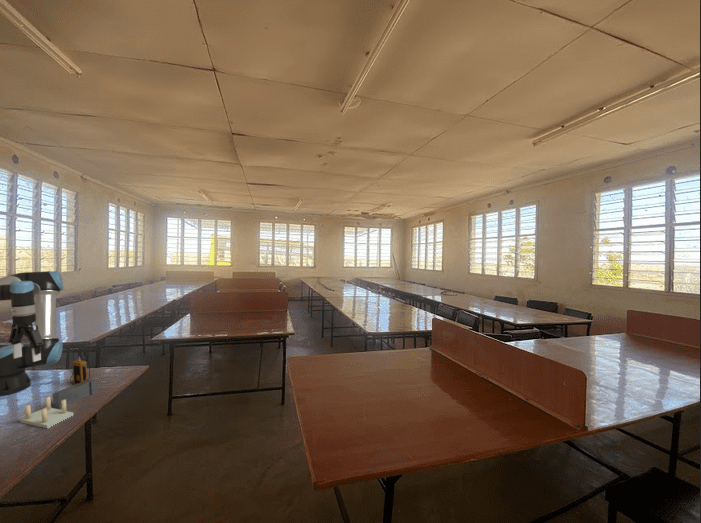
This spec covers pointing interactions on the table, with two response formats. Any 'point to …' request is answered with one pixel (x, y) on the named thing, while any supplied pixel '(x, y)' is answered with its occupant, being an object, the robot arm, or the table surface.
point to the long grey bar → (75, 392)
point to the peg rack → (46, 415)
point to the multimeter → (79, 370)
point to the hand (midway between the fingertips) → (27, 359)
